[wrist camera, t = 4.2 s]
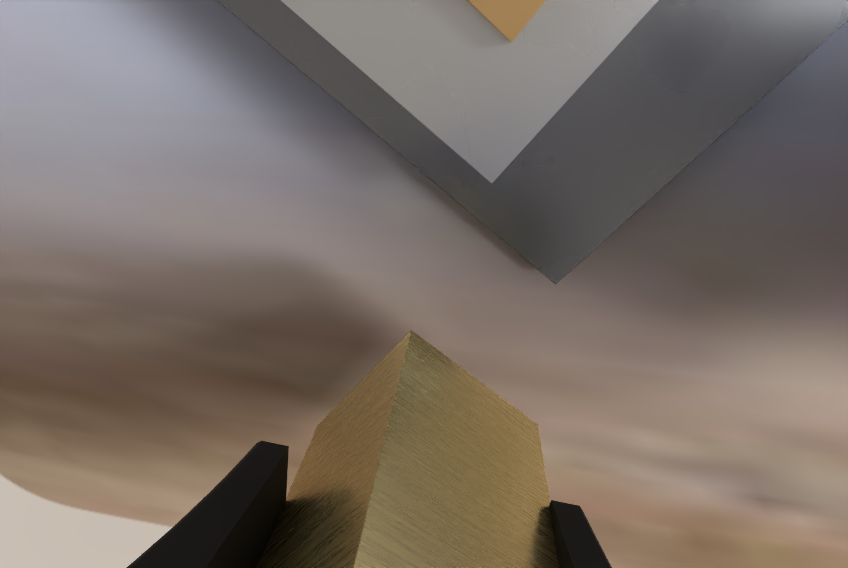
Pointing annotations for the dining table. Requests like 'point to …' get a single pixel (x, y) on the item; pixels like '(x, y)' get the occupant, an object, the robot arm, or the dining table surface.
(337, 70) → the rosette base
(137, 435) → the dining table surface
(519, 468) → the rectangular block
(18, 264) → the dining table surface
